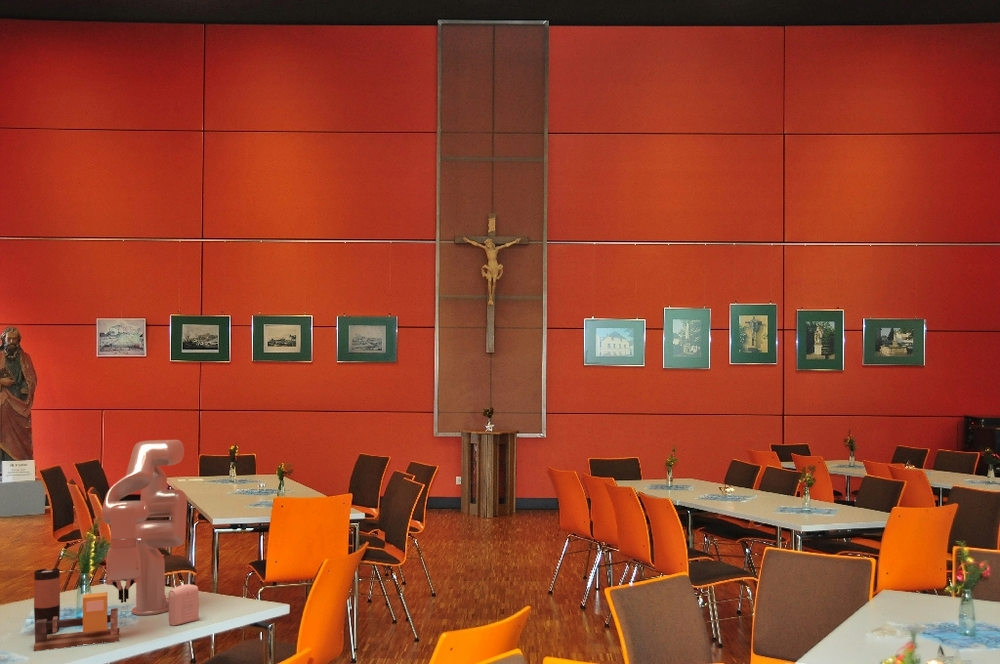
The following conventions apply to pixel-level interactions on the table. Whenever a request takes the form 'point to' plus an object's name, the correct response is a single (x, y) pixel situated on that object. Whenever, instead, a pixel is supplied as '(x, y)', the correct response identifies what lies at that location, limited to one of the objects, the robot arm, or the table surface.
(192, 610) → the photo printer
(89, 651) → the table surface
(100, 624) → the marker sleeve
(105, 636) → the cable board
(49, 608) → the travel mug
